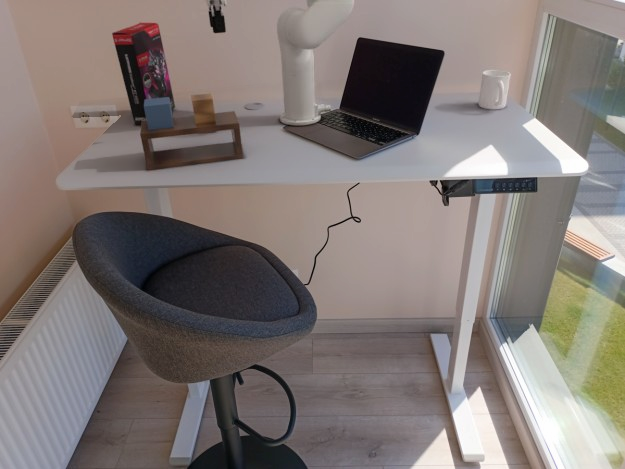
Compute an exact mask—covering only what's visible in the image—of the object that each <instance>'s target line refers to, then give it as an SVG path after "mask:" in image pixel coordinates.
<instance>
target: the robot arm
mask: <svg viewBox="0 0 625 469" xmlns="http://www.w3.org/2000/svg"><path fill="white" fill-rule="evenodd" d="M205 4H206V6H207V7H208V18H209V26H210V28H212V32H213V34H225V33H226V32H227V29H226V20H225V15H224V10H223V6H224V7H227V5H228V2H227V0H205ZM306 6H307V9H304V8H300V7H295V6H293V7H289V8H287V9H285V10H283V11H282V12H281V13H280V15H279V16H278V18H277V23H276V33H277V40H278V44H279V51H280V60H281V78H282V93H283V108H284V109H283V110H284V112H282V113H281V114H280V115H279V121H280V122H281V123H282V124H284V125H289V126H308V125H313V124H316V123H318V122H319V121H321V119H322V116H321V113H323V112H324V113H326V112H331V111H332V106H331V104H325V103H322V104H321V103H320V104H318V103H317V102H316V76H315V55H314V49H316V48H318V47H320V46H321V45H322V44H323V43H324V42H326V41H327V40H328V39H329V38H330V37H331V36H332V35H333V34H334V33H335V32H336V31H337V30H338V29H339V28H340V27H341V26H342V25H343V24H344V23H345V22H346V21H347V20H348V18H349V17H350V16H351V14H352V13H353V12H352V11H353V9H354V6H355V0H306Z"/></svg>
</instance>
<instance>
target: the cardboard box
mask: <svg viewBox="0 0 625 469" xmlns="http://www.w3.org/2000/svg"><path fill="white" fill-rule="evenodd" d="M191 102H192V104H191V105H192V109H193V116H195V122H196V124H204V123H213V122H216V119H215V113H216V112H215V106H214V99H213V95H212V93H200V94H191Z"/></svg>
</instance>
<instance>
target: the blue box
mask: <svg viewBox="0 0 625 469" xmlns="http://www.w3.org/2000/svg"><path fill="white" fill-rule="evenodd" d="M144 110H145V115H146V120H147V124H148V129H149V130H156V129H165V128H173V127H174V123H173V118H174V115H173V110H171V104H170V99H169V97H164V98H154V99H145V101H144Z"/></svg>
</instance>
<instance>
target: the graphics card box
mask: <svg viewBox="0 0 625 469" xmlns="http://www.w3.org/2000/svg"><path fill="white" fill-rule="evenodd" d="M111 36H112V39H113V42H114V47H115V52H116V56H117V59H118V63H119V67H120V68H119V69H120V72H121V75H122V80H123V83H124V88H125V91H126V95H127V99H128V103H129V108H130V111H131V115H132V119H133V122H134V125H137V126H139V125H140V126H141V123H142V121H147V120H146V115H145V110H144V101H145V99H154V98H164V97H169V99H170V104H171V110H172V111H173V110H174V109H176V104H175V100H174V93H173V88H172V84H171V79H170V73H169V70H168V64H167V60H166V55H165V54H166V53H165V49H164V44H163V40H162V36H161V30H160V26H159V23H157V22H139V23H137V24H133V25H131V26H128V27H125V28H123V29H120V30H116V31H114V32H112V33H111Z"/></svg>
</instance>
